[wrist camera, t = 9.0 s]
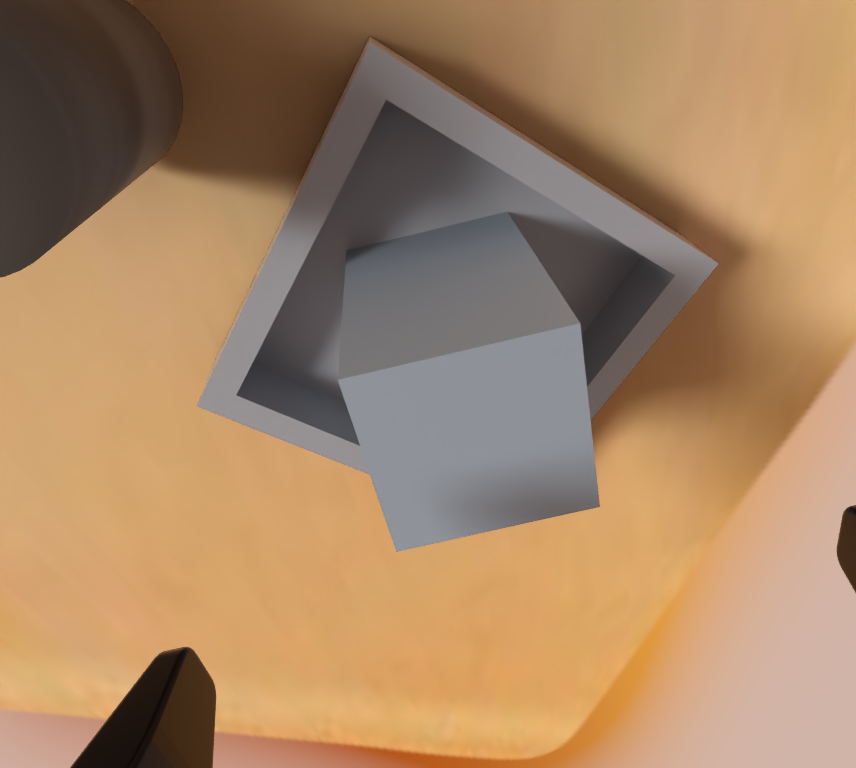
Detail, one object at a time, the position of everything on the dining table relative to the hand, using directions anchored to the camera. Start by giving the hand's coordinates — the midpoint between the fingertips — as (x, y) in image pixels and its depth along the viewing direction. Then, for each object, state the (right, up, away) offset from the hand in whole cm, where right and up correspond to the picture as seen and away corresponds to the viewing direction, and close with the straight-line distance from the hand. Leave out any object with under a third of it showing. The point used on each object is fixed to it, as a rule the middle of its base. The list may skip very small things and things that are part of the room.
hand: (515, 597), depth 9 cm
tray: (-1, +5, +10) cm, 12 cm away
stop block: (-1, +5, +10) cm, 11 cm away
